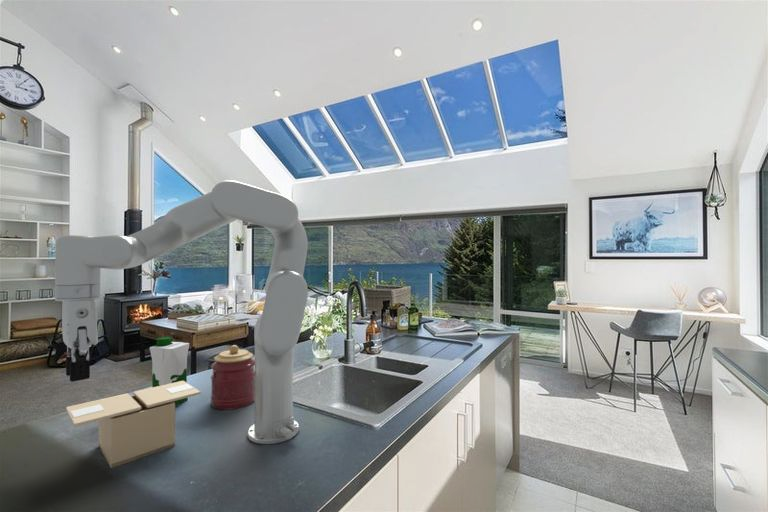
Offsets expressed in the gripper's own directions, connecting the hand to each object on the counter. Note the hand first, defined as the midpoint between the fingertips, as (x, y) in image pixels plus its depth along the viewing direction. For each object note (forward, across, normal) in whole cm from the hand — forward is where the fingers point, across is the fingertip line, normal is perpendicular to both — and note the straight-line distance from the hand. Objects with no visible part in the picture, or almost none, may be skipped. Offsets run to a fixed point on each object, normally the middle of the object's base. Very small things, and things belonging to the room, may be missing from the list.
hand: (77, 376), depth 79 cm
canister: (+20, +10, -39) cm, 45 cm away
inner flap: (+9, 0, -17) cm, 19 cm away
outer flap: (+9, 0, -5) cm, 11 cm away
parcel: (+19, 0, -11) cm, 22 cm away
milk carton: (+20, +22, -25) cm, 39 cm away
